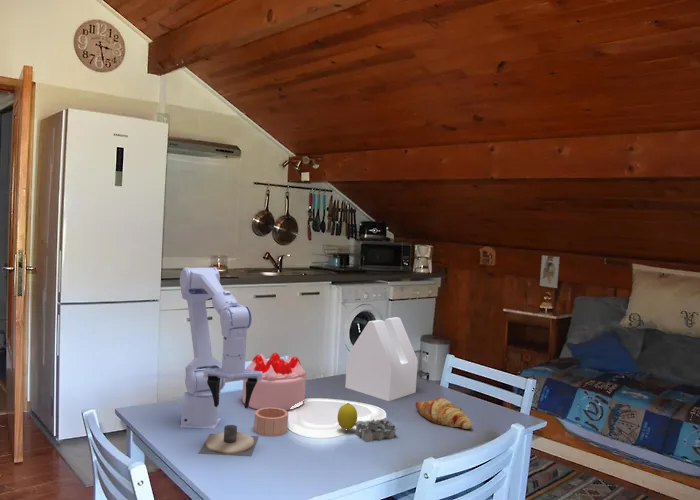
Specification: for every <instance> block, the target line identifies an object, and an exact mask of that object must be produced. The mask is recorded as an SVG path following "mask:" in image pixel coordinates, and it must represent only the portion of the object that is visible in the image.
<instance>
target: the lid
mask: <svg viewBox="0 0 700 500" xmlns="http://www.w3.org/2000/svg"><path fill="white" fill-rule="evenodd" d="M223 429H224V430H223V431H222V432H217V433H213V434H214V435H211V436H210V437H206V439H205V441H206V447H207V449H209V450H210V451H213V452H216V453H221V454H236V453H241V452H245V451H247V450H249V449H251V448H252V447H253V445H254V439H253V438H252V437H251V436H252V435H249V434H247V433H243V432H239V431H238V426H237V425H235V424H228V425H225V426H224V427H223Z"/></svg>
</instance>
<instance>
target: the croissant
mask: <svg viewBox="0 0 700 500" xmlns="http://www.w3.org/2000/svg"><path fill="white" fill-rule="evenodd" d="M414 405H415V408H416V409H417V411H418V412H419V414H420V415H421V416H422V417H423V418H425V419H426V420H428V421H430V422H432V423H435V424H438V425H442V426H446V427H448V426H449V427H451V428H461V429H465V430H467V429H471V428H472V427H473V423H472V421H471V419H470V417H469V416H467V415H466V414H465V412H464V411H463V410H462V408H461V407H456V406H455V405H454V403H453V402H452V401H450V400H448V399H446V398H442V397H438V398H435V399H430V400H428V401H426V400H425V401H423V400H422V401H421V402H420V401H416V402H415V404H414Z"/></svg>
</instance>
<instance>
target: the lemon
mask: <svg viewBox="0 0 700 500" xmlns="http://www.w3.org/2000/svg"><path fill="white" fill-rule="evenodd" d="M337 412H338V413H337V422H338V426H339V427H340V428H342V427H343V428H345V429H347V430H348V431H349V430H351V429H353V428H354V427H356V426H355V424H356V423H357V422H358V412H357V409H356V407H355V406H354V405H353V404H351V403H350V402H347V403H344V404H342V406H340V407H339V409H338V411H337ZM343 428H342V429H343ZM345 429H344V430H345Z"/></svg>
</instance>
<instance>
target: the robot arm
mask: <svg viewBox="0 0 700 500" xmlns="http://www.w3.org/2000/svg"><path fill="white" fill-rule="evenodd" d="M179 275H180V276H179V285H180V286H179V287H180V294H181V298H182V299H183V300H185V301H186V302H187V307H188V308H187V309H188V317H189V325H190V326H189V327H190V332H191V333H190V335H191V340H192V348H193V351H192V352H193V359H192V361H190V363H188V365H186V367H185V378H184V379H185V380H184V381H185V388H186V392H184V394H183V397H182V402H181V413H180V414H181V416H180V417H181V418H180V419H181V421H180V426H179V427H180V428H185V429H186V428H187V429H203V430H204V429H205V430H206V429H207V430H215V429H216V428H217V427H218V425H219V423H220V421H221V417H218V406H219V405H220V394H221V391H222V390H223V389H224V388H225V386H226V382H227V381H226V379H231V380H232V379H234V380H235V379H236V380H243V379H248V380H247V382H246V399H245V404H244V409H249V408H250V407H249V402H250V398H251V395H252V392H253V389H254V387H255V385H256V383H257V381H261V380H262V371H253V370H247V369H246V352H247V332H248V329H249V328H250V327H251V325H252V321H253V317H252V311H251V309H250V307H249V306H248V305H244V304H240V303H239V302H238V300H237V299H236V297H234V295H233V294H232V292H231V291H230V290H225V289H224V287H223V286H222V284H221V281H220V279H221V276H220V271H219V269H218V268H217V267H216V266H212V267H189V266H188V267H187V266H185V267H183V268H182V270H181V272H180V274H179ZM211 298H212V300H211V304H212V307H213V308H214V309H215V310H216V312H217V314H218V315H219V316H220V317H219V321H220V322H219V323H220V327H221V335H222V336H223V341H222V342H223V343H222V357H221V358H222V360H221V361H220V360H219V359H218V358H216V357H214V356H213V351H212V344H211V336H210V335H211V334H210V328H209V320H208V313H207V305H206V303H207V301H208V300H209V299H211Z"/></svg>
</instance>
